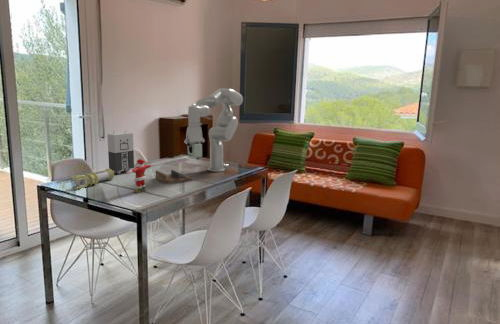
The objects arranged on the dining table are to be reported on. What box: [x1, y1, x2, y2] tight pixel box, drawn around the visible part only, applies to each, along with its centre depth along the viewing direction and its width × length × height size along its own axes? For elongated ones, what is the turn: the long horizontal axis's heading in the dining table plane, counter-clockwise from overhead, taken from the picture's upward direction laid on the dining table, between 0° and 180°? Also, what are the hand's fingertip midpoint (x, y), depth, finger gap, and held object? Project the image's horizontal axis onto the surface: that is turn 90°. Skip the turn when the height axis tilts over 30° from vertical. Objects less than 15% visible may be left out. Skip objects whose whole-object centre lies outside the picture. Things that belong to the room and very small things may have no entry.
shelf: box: [155, 169, 192, 185], centre depth 242 cm, size 18×16×5 cm
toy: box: [107, 129, 135, 175], centre depth 255 cm, size 15×7×30 cm, turn 145°
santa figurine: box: [125, 158, 155, 194], centre depth 211 cm, size 25×6×19 cm, turn 159°
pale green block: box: [187, 142, 203, 158], centre depth 248 cm, size 5×12×8 cm, turn 33°
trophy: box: [70, 168, 115, 190], centre depth 224 cm, size 8×8×30 cm
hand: (194, 151), depth 248 cm, fingers closed on pale green block, 5 cm apart
